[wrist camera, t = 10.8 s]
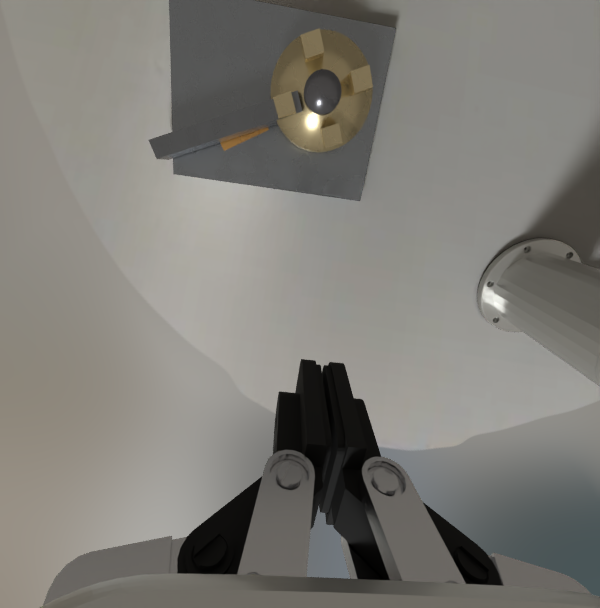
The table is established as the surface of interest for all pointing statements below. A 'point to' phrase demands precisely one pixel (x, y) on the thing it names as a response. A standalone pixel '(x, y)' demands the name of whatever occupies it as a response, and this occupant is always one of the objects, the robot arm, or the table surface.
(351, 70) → the gold disc with handle
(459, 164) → the table surface
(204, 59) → the base plate
